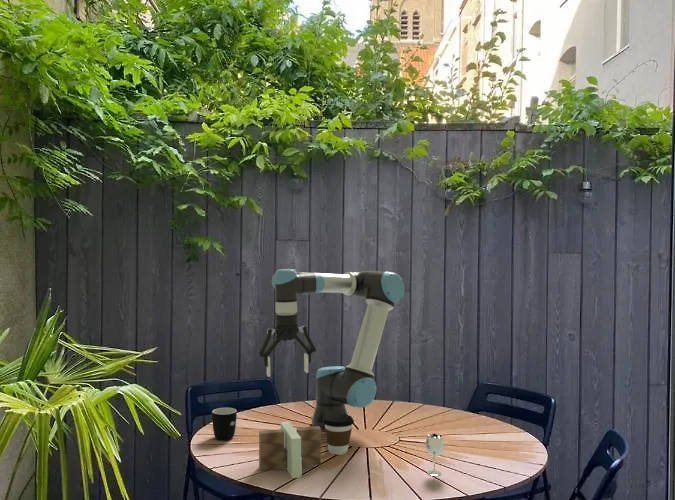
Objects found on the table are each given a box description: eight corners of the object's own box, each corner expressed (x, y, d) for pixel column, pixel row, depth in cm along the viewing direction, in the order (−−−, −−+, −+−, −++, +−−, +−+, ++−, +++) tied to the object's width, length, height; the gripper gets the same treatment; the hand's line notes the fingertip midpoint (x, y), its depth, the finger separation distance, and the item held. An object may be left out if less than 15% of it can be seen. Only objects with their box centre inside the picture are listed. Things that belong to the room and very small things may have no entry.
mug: (231, 442, 223) (231, 414, 223) (208, 441, 224) (208, 413, 224) (242, 432, 235) (242, 406, 234) (220, 431, 236) (220, 404, 236)
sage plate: (288, 455, 210) (288, 420, 210) (301, 477, 191) (301, 439, 190) (279, 456, 209) (280, 421, 209) (292, 478, 190) (292, 439, 190)
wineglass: (423, 470, 197) (423, 433, 197) (440, 469, 198) (441, 432, 198) (427, 477, 192) (427, 438, 191) (445, 476, 192) (445, 438, 192)
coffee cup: (357, 448, 217) (357, 415, 217) (348, 459, 207) (348, 423, 207) (328, 445, 221) (328, 412, 220) (317, 455, 210) (318, 420, 210)
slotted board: (318, 461, 204) (318, 426, 204) (320, 464, 201) (321, 428, 201) (259, 467, 198) (259, 430, 198) (260, 471, 195) (260, 433, 195)
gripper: (317, 310, 220) (318, 368, 221) (248, 314, 212) (250, 374, 213) (323, 312, 213) (325, 372, 214) (253, 317, 205) (254, 379, 206)
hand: (287, 374), depth 214 cm, fingers open, 13 cm apart
